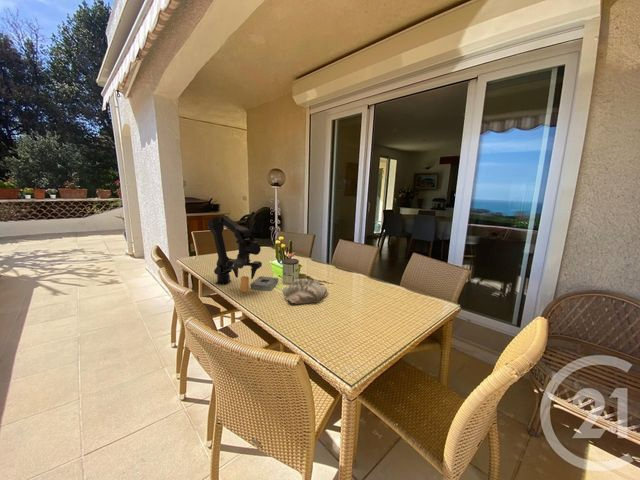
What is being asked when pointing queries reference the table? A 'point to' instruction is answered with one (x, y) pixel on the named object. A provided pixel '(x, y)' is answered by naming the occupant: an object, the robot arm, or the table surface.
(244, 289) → the tall orange box
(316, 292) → the seashell
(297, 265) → the coffee can
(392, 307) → the table surface
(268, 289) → the rosette plate
